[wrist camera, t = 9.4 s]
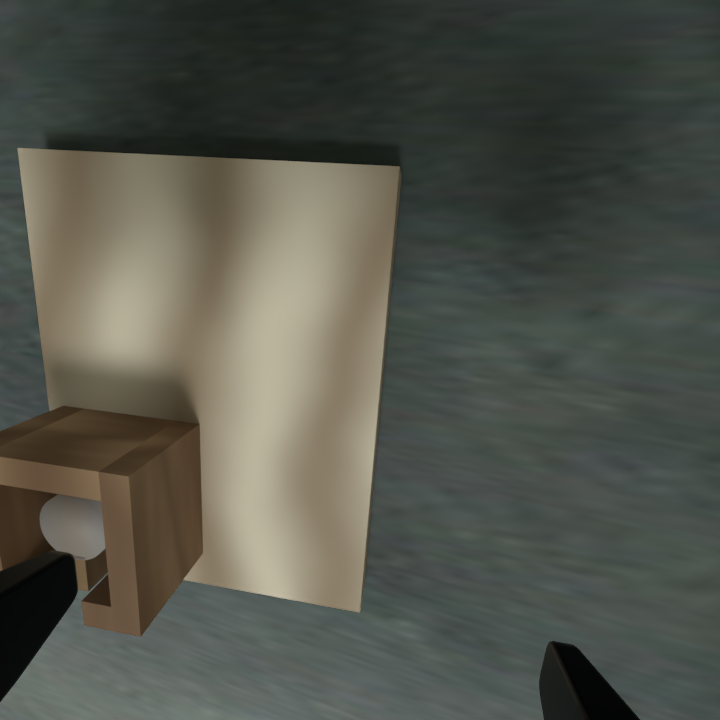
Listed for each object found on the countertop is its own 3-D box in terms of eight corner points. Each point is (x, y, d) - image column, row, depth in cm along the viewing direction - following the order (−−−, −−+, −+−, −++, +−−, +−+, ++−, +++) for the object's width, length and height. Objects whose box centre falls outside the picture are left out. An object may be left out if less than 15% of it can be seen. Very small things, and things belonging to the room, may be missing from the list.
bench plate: (401, 174, 16) (392, 138, 11) (364, 587, 20) (346, 688, 16) (50, 157, 18) (-90, 118, 13) (90, 539, 22) (-1, 615, 18)
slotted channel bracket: (199, 423, 18) (128, 476, 14) (203, 553, 20) (140, 636, 15) (63, 405, 19) (-45, 449, 14) (77, 531, 20) (-16, 604, 16)
